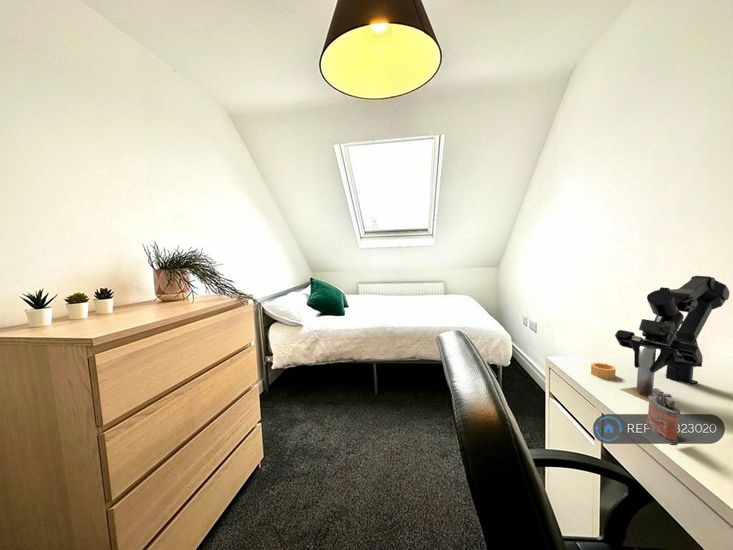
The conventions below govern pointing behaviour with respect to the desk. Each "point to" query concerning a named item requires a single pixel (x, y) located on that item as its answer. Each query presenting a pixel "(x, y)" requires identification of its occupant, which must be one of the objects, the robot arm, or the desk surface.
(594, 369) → the socket plate
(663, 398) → the lighter
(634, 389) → the board
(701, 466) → the desk surface
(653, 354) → the steel peg
